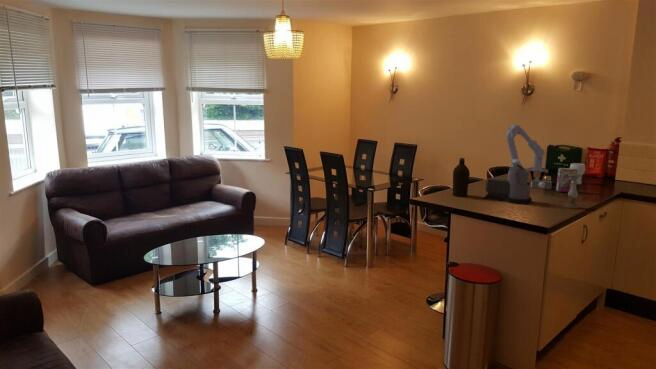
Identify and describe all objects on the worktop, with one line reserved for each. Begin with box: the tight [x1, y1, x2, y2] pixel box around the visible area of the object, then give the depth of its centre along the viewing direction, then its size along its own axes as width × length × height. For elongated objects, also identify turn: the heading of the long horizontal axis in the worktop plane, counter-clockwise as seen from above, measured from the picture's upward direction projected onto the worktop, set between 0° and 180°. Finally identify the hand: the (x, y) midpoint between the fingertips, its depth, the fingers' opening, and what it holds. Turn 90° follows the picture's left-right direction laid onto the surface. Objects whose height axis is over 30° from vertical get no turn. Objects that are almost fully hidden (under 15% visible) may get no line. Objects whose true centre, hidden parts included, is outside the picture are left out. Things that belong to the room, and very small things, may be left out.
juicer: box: [482, 163, 534, 206], centre depth 322 cm, size 30×16×24 cm, turn 57°
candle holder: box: [563, 173, 583, 210], centre depth 305 cm, size 9×9×20 cm
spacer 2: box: [543, 175, 552, 182], centre depth 388 cm, size 5×5×5 cm
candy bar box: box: [555, 167, 577, 193], centre depth 353 cm, size 11×5×16 cm, turn 84°
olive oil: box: [452, 157, 471, 198], centre depth 334 cm, size 11×11×25 cm
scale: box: [529, 179, 553, 190], centre depth 371 cm, size 13×17×5 cm
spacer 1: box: [533, 175, 541, 181], centre depth 384 cm, size 5×5×5 cm
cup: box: [569, 162, 586, 185], centre depth 386 cm, size 11×11×15 cm
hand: (536, 181), depth 385 cm, fingers closed on spacer 1, 5 cm apart
